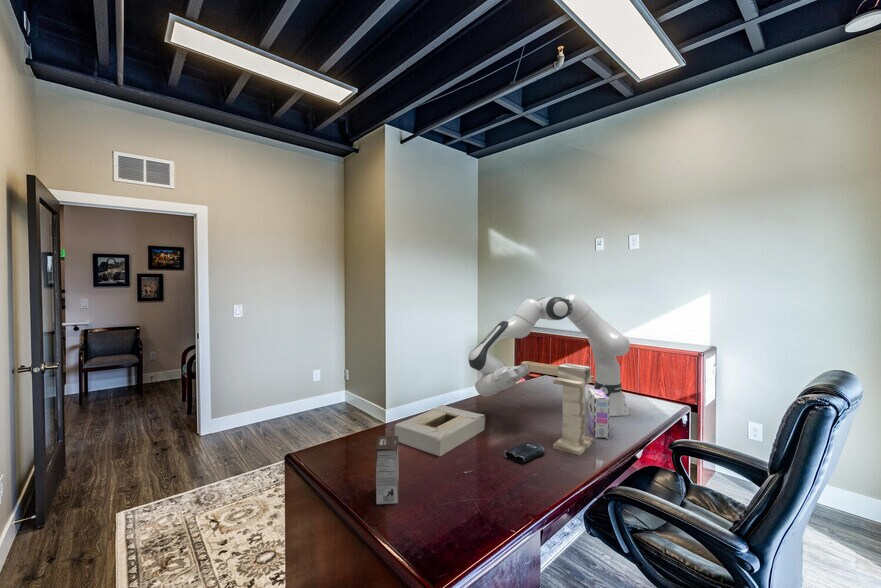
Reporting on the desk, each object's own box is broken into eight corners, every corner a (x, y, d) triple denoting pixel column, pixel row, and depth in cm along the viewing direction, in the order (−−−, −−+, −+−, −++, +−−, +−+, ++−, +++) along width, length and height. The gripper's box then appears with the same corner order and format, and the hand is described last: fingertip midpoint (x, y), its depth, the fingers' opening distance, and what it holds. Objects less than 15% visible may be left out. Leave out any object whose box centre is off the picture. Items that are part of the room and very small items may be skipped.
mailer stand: (568, 435, 156) (569, 361, 155) (593, 442, 150) (594, 364, 149) (553, 448, 145) (553, 367, 144) (579, 455, 139) (580, 371, 138)
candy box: (609, 439, 153) (609, 398, 152) (593, 438, 154) (594, 397, 153) (602, 426, 166) (602, 388, 166) (587, 425, 167) (588, 388, 167)
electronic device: (526, 471, 131) (549, 451, 141) (523, 455, 131) (546, 437, 141) (504, 465, 138) (528, 447, 148) (501, 450, 138) (525, 433, 148)
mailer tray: (524, 368, 162) (524, 361, 162) (567, 374, 151) (567, 367, 150) (520, 369, 159) (520, 362, 159) (563, 376, 147) (563, 369, 147)
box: (440, 459, 138) (485, 430, 164) (440, 437, 138) (485, 412, 163) (393, 444, 152) (442, 419, 177) (393, 424, 152) (441, 403, 177)
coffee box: (378, 487, 118) (377, 435, 117) (399, 486, 118) (398, 434, 118) (375, 504, 109) (374, 448, 108) (398, 503, 109) (398, 447, 109)
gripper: (489, 374, 159) (515, 362, 151) (514, 366, 175) (539, 354, 167) (496, 389, 157) (522, 377, 149) (520, 379, 173) (545, 368, 165)
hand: (531, 365), depth 158 cm, fingers closed on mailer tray, 4 cm apart
